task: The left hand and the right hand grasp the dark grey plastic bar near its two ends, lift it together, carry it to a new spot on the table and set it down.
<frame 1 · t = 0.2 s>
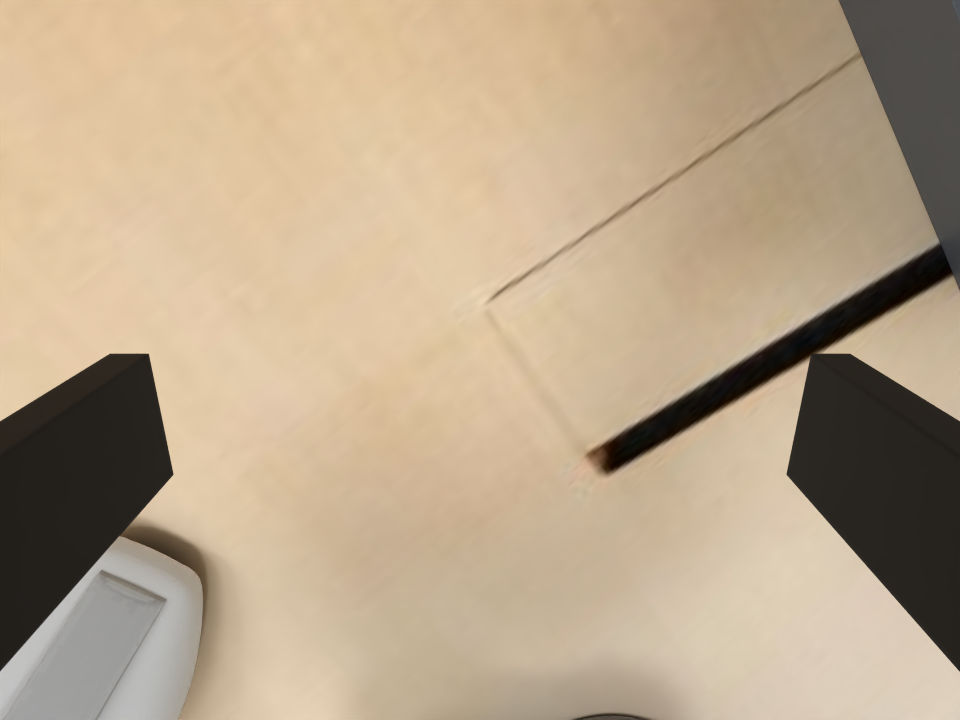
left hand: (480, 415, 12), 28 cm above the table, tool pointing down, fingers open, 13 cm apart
projector: (109, 636, 50), on the table
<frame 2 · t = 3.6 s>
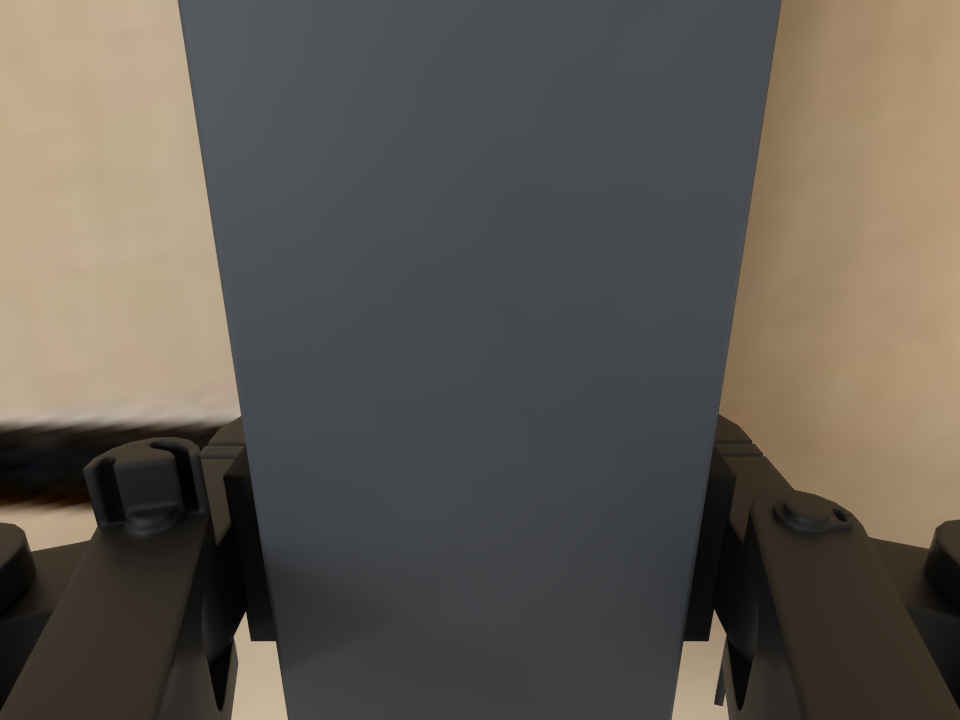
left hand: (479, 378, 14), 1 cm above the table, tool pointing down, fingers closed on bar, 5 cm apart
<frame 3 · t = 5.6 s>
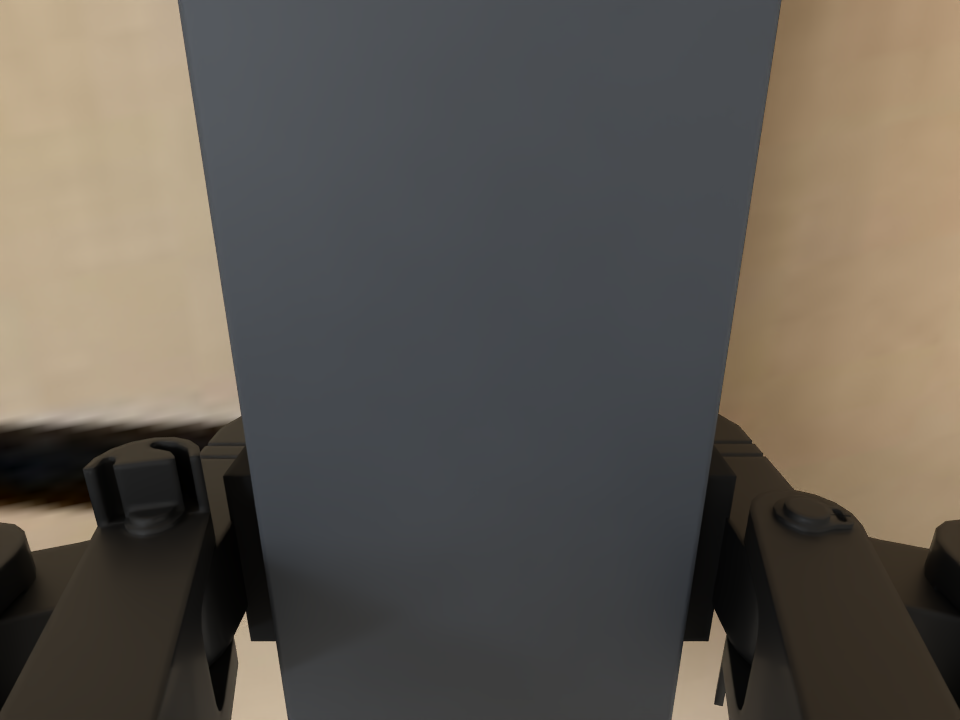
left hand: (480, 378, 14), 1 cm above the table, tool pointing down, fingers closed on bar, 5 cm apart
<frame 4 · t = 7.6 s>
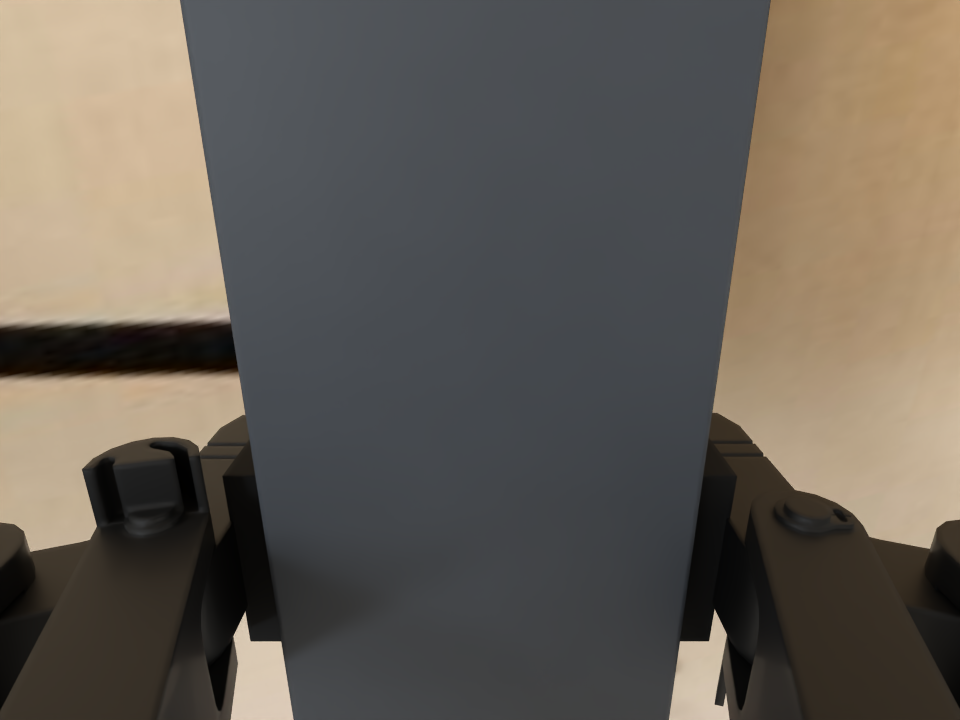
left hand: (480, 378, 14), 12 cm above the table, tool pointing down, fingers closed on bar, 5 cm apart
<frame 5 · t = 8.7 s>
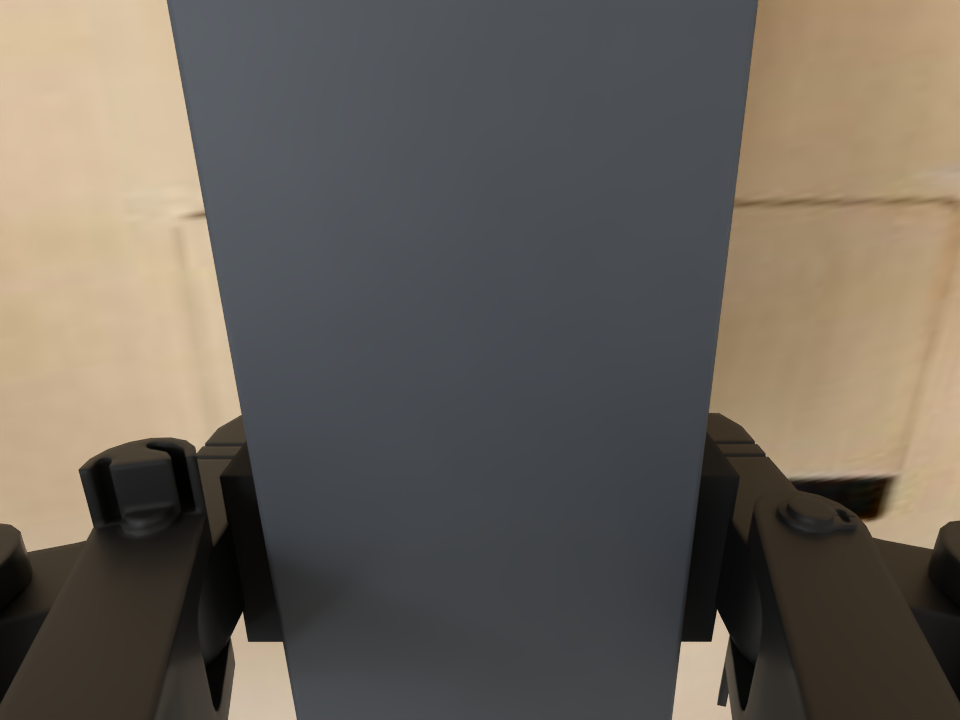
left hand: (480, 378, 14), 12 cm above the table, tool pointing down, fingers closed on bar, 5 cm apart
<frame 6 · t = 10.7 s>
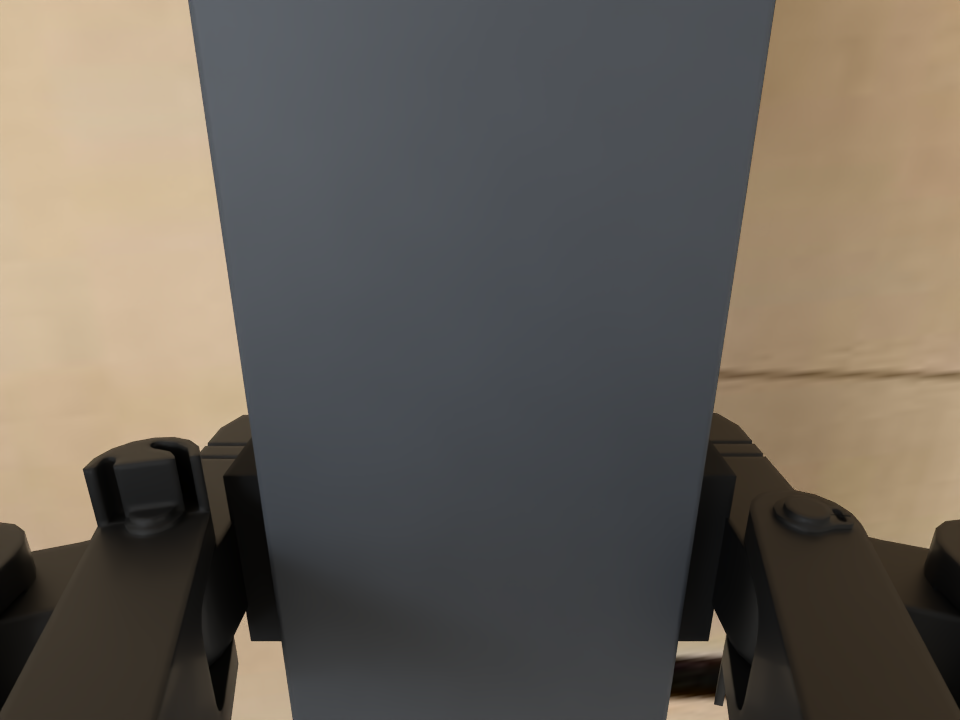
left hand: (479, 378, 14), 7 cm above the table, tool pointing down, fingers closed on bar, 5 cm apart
when the left hand's fingers open (2 cm above the table, at t = 11.9 s): bar drops 1 cm, on the table.
when the right hand's fingers open (5 cm above the table, at t = 12.0 s): bar stays where it is, on the table.
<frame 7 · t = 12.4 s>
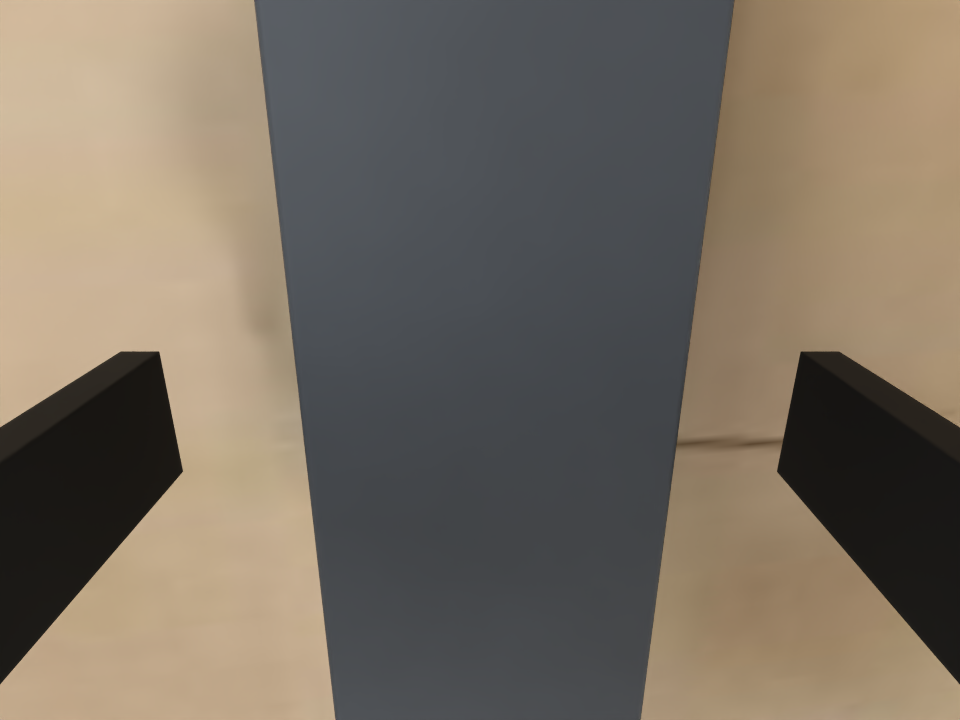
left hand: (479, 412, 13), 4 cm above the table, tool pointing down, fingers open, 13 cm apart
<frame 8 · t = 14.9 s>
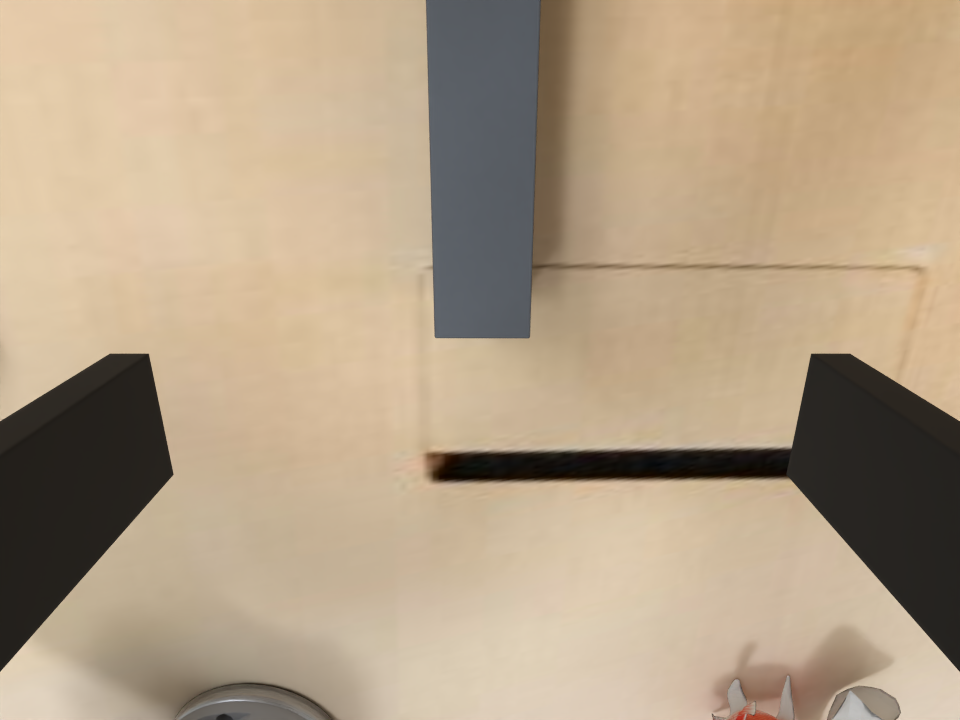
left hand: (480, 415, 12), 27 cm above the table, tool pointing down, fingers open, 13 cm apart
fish: (779, 686, 52), on the table
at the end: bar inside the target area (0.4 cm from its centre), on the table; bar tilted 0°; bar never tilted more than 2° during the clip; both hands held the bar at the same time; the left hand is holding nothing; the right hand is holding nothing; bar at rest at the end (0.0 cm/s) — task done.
